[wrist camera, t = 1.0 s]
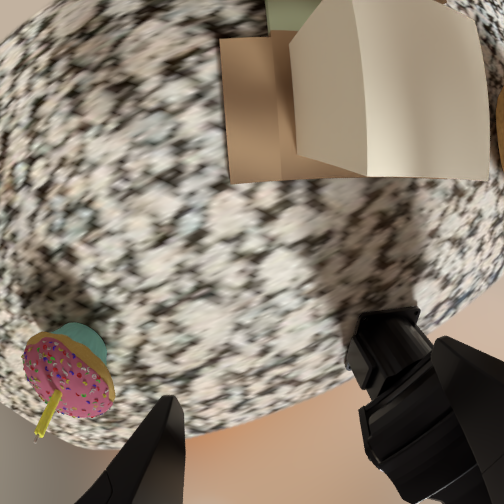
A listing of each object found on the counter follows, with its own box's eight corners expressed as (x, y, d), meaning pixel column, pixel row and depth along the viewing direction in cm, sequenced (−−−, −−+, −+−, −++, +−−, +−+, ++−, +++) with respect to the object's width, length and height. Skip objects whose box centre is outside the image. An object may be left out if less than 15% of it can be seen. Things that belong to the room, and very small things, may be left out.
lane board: (439, 176, 18) (464, 184, 15) (230, 181, 17) (231, 190, 15) (422, 2, 12) (443, -8, 9) (215, -28, 11) (214, -50, 9)
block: (385, 155, 16) (488, 181, 8) (296, 154, 16) (367, 176, 8) (378, 54, 14) (474, 20, 5) (288, 44, 13) (345, -28, 5)
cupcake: (54, 286, 19) (-25, 388, 8) (140, 337, 21) (102, 466, 10) (42, 347, 21) (-8, 436, 10) (113, 388, 24) (85, 489, 13)
